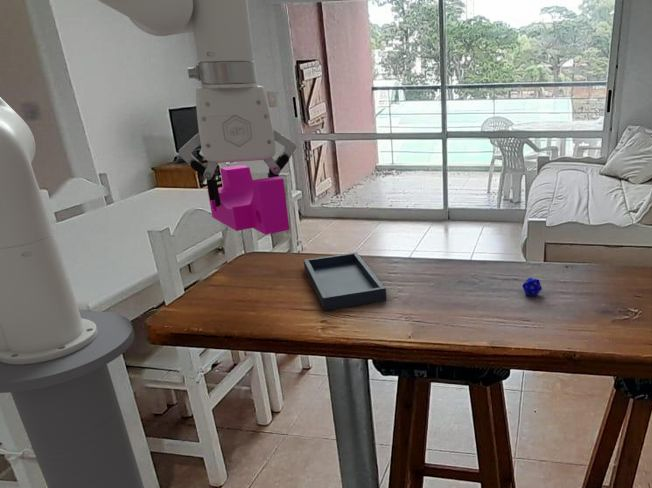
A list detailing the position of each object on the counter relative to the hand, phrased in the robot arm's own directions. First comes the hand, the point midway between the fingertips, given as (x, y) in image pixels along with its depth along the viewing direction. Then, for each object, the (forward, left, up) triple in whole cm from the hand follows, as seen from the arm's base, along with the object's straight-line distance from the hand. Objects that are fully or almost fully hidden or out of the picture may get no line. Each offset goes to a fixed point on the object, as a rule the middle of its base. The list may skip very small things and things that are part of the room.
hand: (246, 201), depth 86 cm
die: (+39, -19, -15) cm, 46 cm away
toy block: (0, 0, -4) cm, 4 cm away
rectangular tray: (+13, -3, -15) cm, 20 cm away
